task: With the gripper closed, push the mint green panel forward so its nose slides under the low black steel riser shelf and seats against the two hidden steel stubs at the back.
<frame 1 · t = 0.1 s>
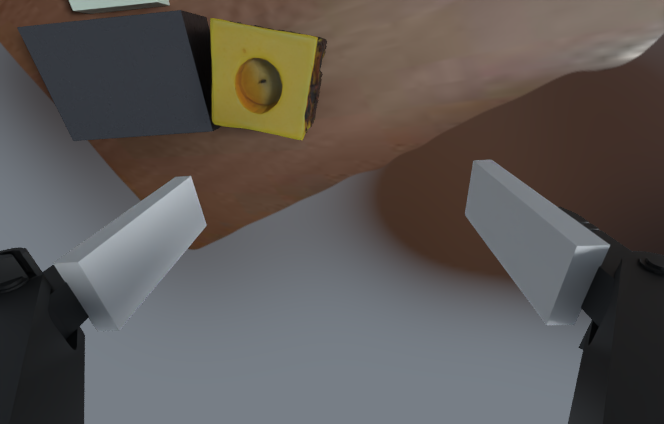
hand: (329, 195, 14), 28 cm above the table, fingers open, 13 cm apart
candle: (282, 76, 37), on the table
riser: (144, 52, 37), on the table
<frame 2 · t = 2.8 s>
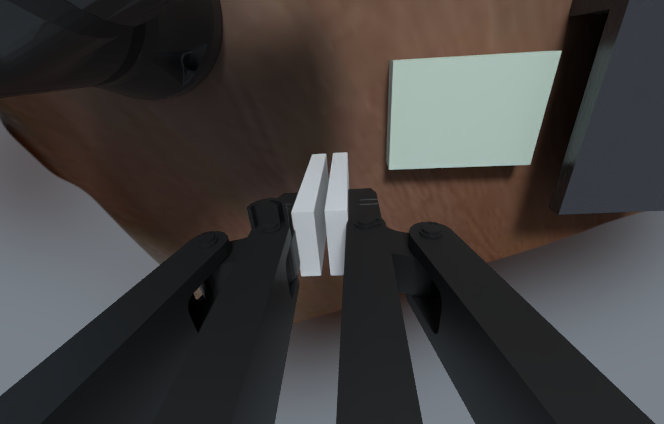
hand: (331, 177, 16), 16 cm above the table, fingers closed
mint green panel: (455, 111, 30), on the table
riser: (578, 103, 29), on the table
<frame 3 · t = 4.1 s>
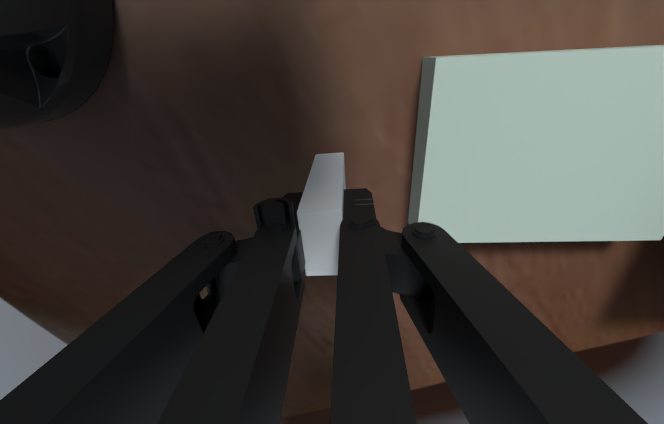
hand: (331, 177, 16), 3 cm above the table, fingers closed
mint green panel: (530, 144, 18), on the table
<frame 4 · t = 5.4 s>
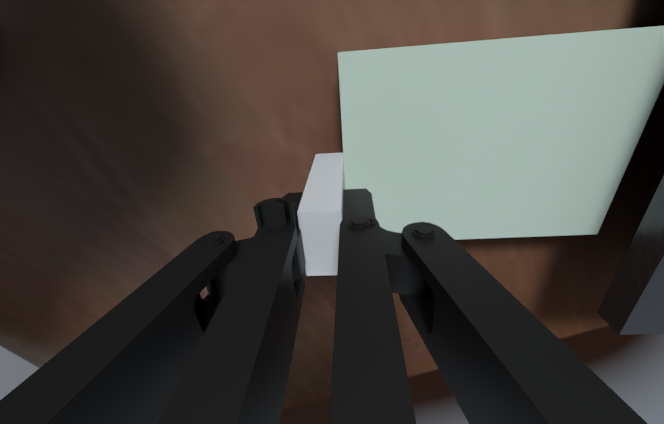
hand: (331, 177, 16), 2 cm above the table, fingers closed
mint green panel: (463, 139, 17), on the table
riser: (649, 130, 16), on the table
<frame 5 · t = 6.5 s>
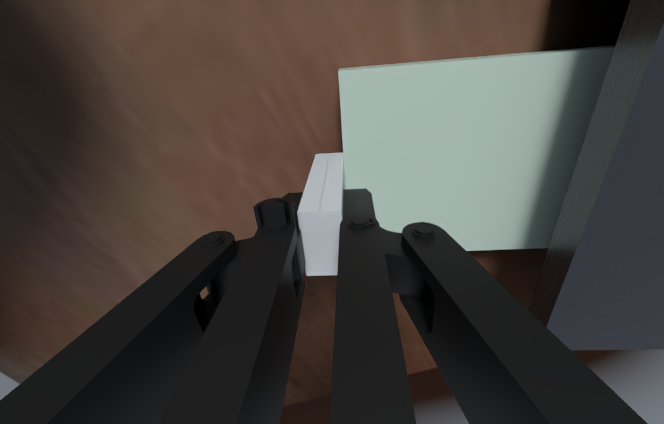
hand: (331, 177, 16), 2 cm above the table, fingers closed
mint green panel: (463, 151, 17), on the table
riser: (572, 149, 16), on the table
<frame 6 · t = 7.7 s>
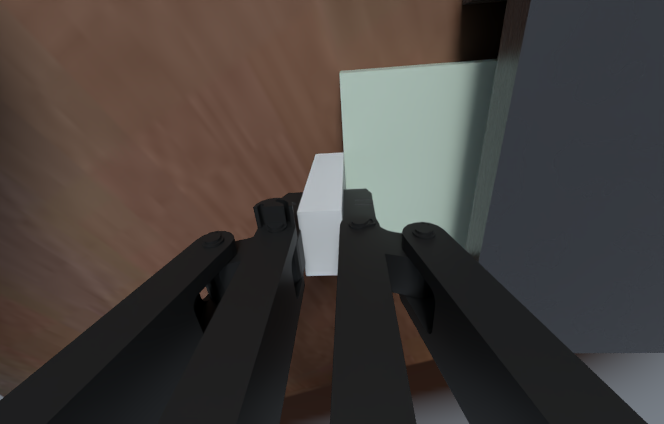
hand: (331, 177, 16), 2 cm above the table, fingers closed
mint green panel: (463, 154, 17), on the table
riser: (498, 156, 17), on the table
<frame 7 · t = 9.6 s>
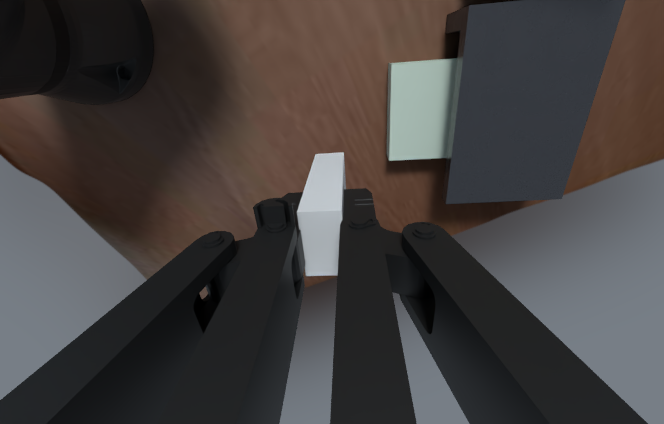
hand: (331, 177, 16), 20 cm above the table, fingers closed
mint green panel: (448, 107, 33), on the table
riser: (465, 107, 33), on the table
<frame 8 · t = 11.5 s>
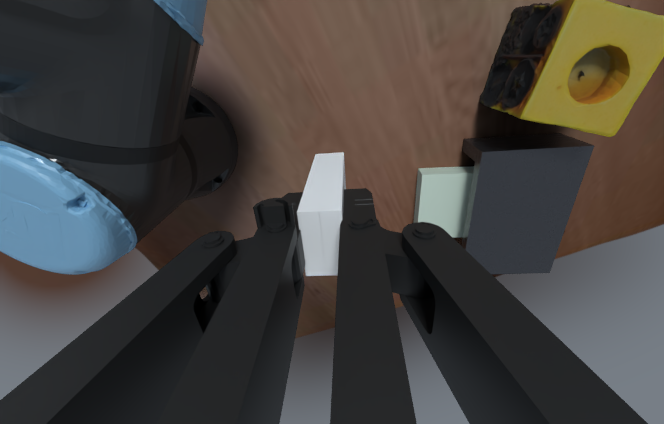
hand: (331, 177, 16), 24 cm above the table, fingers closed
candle: (532, 67, 35), on the table
mint green panel: (462, 197, 43), on the table
riser: (476, 199, 42), on the table
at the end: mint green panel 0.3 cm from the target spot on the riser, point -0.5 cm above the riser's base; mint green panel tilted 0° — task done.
